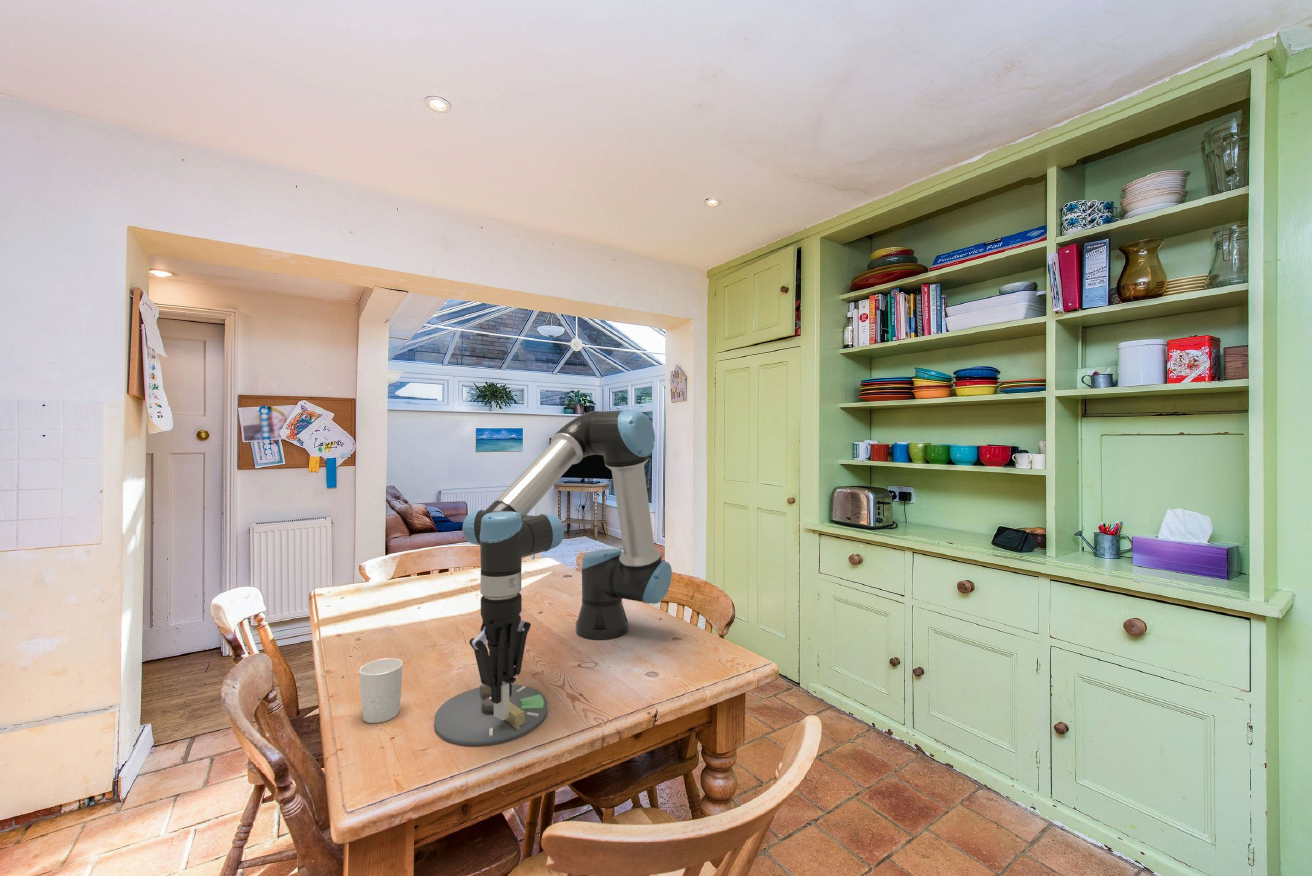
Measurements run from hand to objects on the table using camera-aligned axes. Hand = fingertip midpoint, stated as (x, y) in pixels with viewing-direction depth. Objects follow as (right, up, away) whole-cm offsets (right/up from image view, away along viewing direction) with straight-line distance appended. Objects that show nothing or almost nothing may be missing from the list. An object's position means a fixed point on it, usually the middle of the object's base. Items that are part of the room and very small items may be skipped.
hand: (501, 716), depth 104 cm
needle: (-1, -2, +4) cm, 4 cm away
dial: (-4, -3, +7) cm, 8 cm away
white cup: (-26, -3, +7) cm, 27 cm away
